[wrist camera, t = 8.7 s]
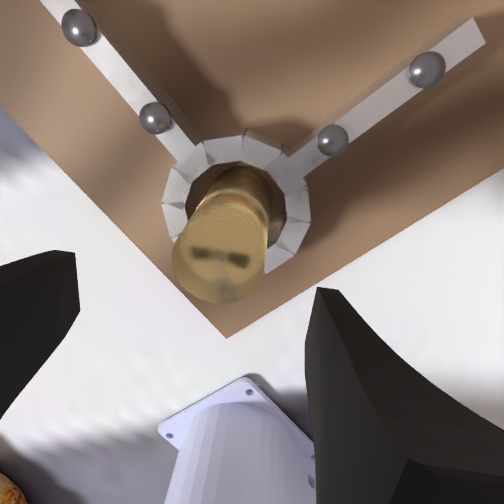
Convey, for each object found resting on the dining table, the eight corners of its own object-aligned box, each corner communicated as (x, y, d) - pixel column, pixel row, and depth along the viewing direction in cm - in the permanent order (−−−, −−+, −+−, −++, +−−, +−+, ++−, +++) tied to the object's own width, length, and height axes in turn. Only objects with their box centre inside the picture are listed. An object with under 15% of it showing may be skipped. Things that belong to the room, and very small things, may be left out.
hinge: (492, 103, 16) (522, 108, 14) (232, 279, 21) (226, 302, 19) (288, -282, 12) (289, -354, 10) (20, 45, 17) (-17, 42, 15)
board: (584, 110, 16) (594, 111, 16) (227, 332, 23) (226, 338, 22) (311, -494, 11) (313, -524, 10) (-62, 31, 17) (-73, 30, 17)
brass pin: (284, 203, 19) (283, 273, 12) (236, 237, 20) (212, 318, 13) (245, 153, 18) (223, 200, 11) (197, 191, 19) (152, 254, 12)
